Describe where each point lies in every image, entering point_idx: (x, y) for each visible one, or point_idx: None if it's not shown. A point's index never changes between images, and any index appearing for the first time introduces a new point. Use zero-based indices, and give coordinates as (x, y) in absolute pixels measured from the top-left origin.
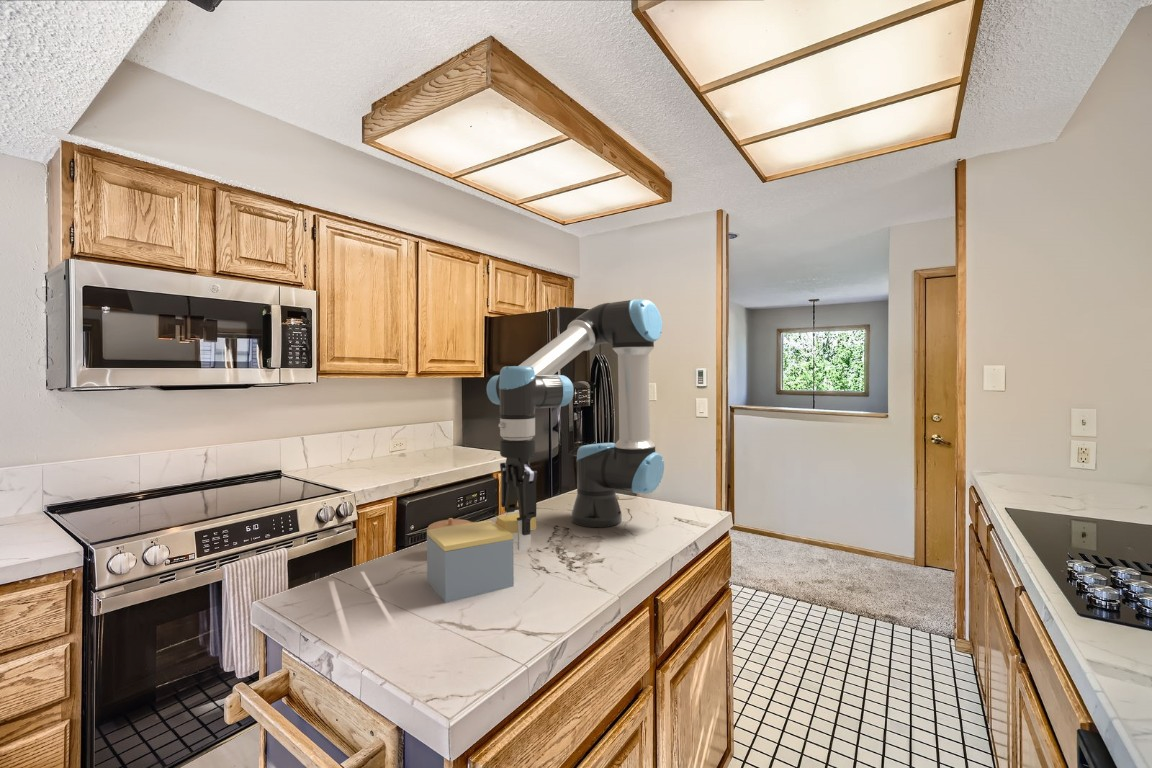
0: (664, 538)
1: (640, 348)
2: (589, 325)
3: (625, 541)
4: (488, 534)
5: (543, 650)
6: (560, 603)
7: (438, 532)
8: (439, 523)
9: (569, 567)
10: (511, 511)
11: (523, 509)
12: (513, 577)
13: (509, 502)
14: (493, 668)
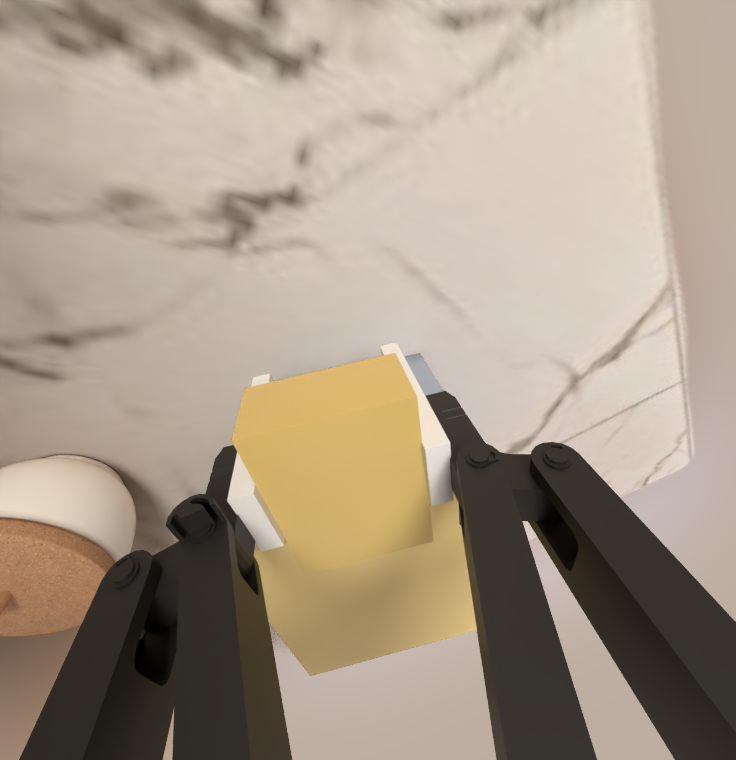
0: None
1: None
2: None
3: None
4: (451, 556)
5: (681, 342)
6: (547, 242)
7: (352, 654)
8: None
9: (258, 56)
10: (248, 533)
11: (552, 559)
12: (434, 377)
13: (261, 619)
14: (653, 420)
